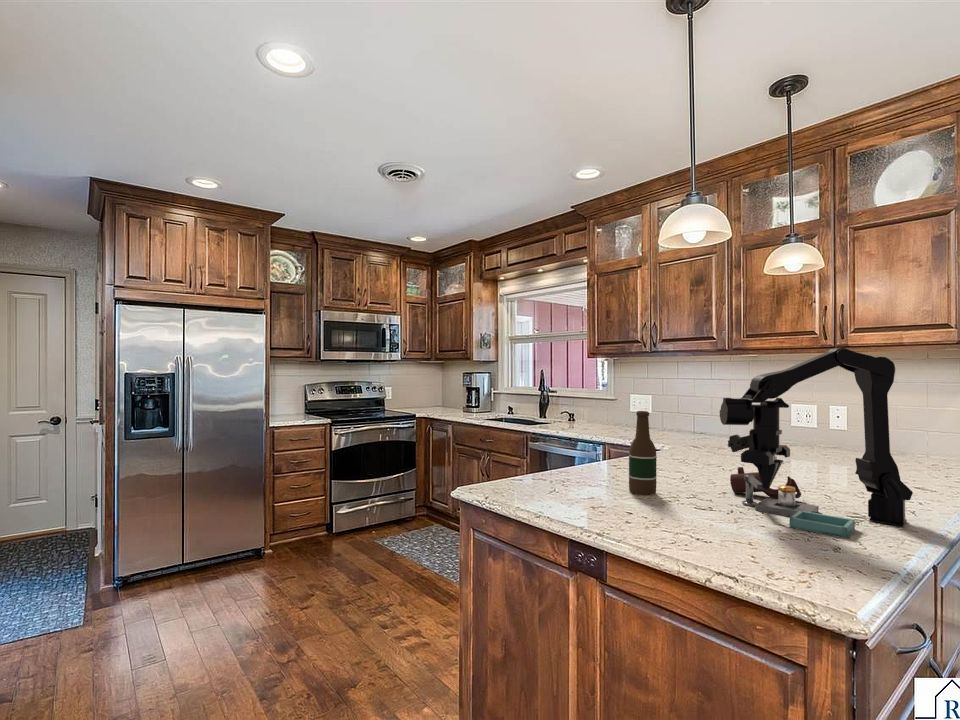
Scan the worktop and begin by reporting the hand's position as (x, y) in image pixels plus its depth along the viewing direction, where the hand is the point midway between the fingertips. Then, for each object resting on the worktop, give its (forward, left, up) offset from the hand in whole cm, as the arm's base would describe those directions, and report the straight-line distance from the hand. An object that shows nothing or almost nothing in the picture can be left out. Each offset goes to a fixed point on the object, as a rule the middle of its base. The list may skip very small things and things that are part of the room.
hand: (766, 488), depth 131 cm
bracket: (+7, -23, -7) cm, 25 cm away
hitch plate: (0, -10, -7) cm, 12 cm away
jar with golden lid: (-2, -10, -7) cm, 12 cm away
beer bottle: (+34, -2, -7) cm, 35 cm away
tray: (-12, +1, -7) cm, 14 cm away
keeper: (+5, -5, 0) cm, 7 cm away
